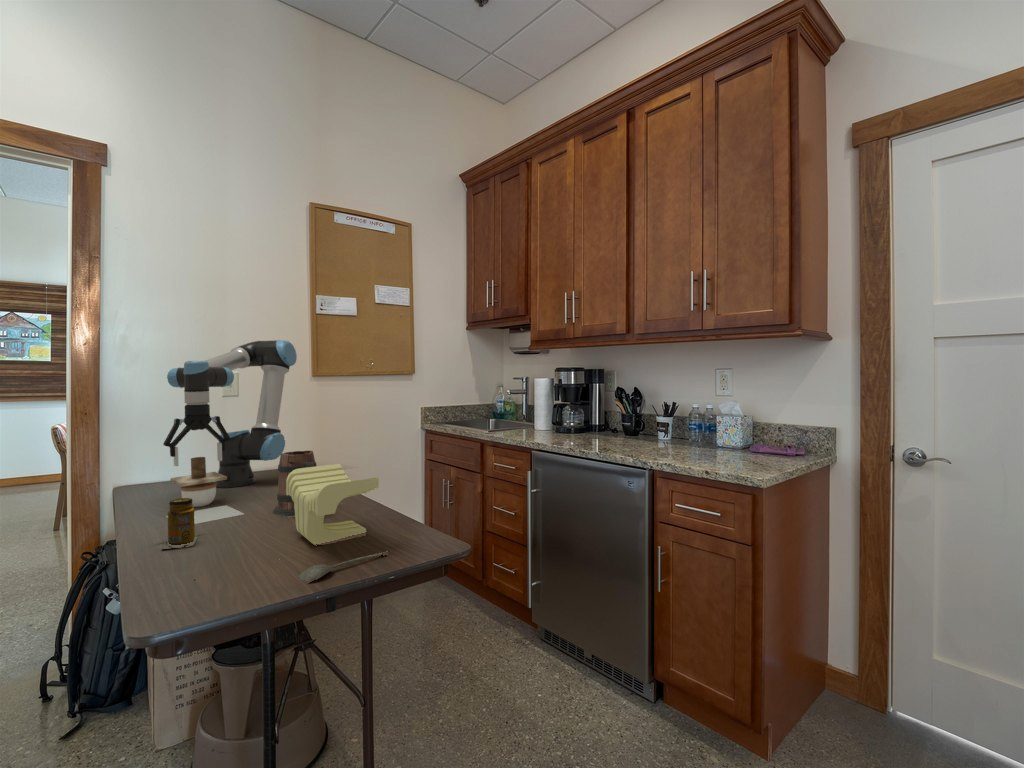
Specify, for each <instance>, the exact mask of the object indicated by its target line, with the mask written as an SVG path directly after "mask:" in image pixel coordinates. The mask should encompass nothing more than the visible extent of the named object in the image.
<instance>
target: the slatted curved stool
mask: <svg viewBox="0 0 1024 768" xmlns="http://www.w3.org/2000/svg"><path fill="white" fill-rule="evenodd" d="M379 487H380V485H379V477H372V478H366V479H365V478H364V479H359V480H358V479H357V480H351V479H350V478H349V476H348V475H347V474H346V472H345V470H344V469H343V466H342V465H341V463H336V464H335V463H334V464H325V465H316V466H315V467H307V468H299V469H295V470H293V471H292V472H291V473H290V474H289V475H288V477H287V480H286V495H290V496H291V498H292V500H293V502H294V509H295V517H294V518H295V527H296V531H297V532H298V533H299V534H300V535H301V536H303V537H304V538H306V540H308V542H310V543H311V544H313V545H314V546H317V545H316V544H321V543H325V542H330V541H334V540H338V539H341V538H345V537H348V536H352V535H357V534H361V533H365V532H367V528H366V527H364V526H362V525H360V524H359V523H358V522H355V521H354V520H345V521H339V522H332V523H331V522H329V523H324V521H325V520H324V519H325V516H326V515H327V516H328V515H333V514H334V515H335V514H336V512H337V508H338V506H339V504H340V503H341V502H342V501H343V500H344V499H346V498H349V497H354V496H359V495H362V494H363V495H364V494H367V493H369V492H371V491H373V490H376V489H379Z"/></svg>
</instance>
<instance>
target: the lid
mask: <svg viewBox="0 0 1024 768" xmlns="http://www.w3.org/2000/svg"><path fill="white" fill-rule="evenodd" d="M206 468H207V463H206V457H205V456H198V457H197V456H196V457H192V458H190V471H191V472H190V475H184V476H175V477H170V482H172V483H173V484H176V485H177V486H179V487H180V488H181V487H183V486H189V485H195V484H202V483H208V482H215V481H221V480H227V477H226V476H224V475H222V474H219V473H218V471H217V472H216V471H210V472H207V469H206Z"/></svg>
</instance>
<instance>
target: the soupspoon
mask: <svg viewBox="0 0 1024 768" xmlns="http://www.w3.org/2000/svg"><path fill="white" fill-rule="evenodd" d="M385 551H386V552H388V550H385ZM385 551H383V552H379V553H377V552H376V553H375V554H370V555H365V556H362V557H357V558H353V559H350V560H346V561H342V562H339V563H336V564H333V565H328V564H315V565H311V566H310V567H308V568H306V569H305V570H304V571H303V572H301V573H300V575H298V577H300V579H301V580H306V581H314V580H316V581H318V579H320V578H322V577H324V576H325V575H327V574H328V573H329V572H331V571H332V570H333V569H335V568H337V567H341V566H342V565H346V564H350V563H353V562H356V561H361V560H364V559H370V558H373V556H375V557H376V556H377V555H380V554H382V553H385ZM377 557H378V556H377ZM314 582H315V581H314Z"/></svg>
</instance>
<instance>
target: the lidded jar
mask: <svg viewBox="0 0 1024 768" xmlns="http://www.w3.org/2000/svg"><path fill="white" fill-rule="evenodd" d="M180 491H181V493H180V494H181V498H191V499H192V500H193V501H192V504H193V506H192V507H193V508H199V507H205V506H209V505H210V504H211V503H212V502H213V501H214V500H215V498H216V493H217V487H216V483H215V481H214V482H208V483H202V484H195V485H189V486H183V487H181V486H180Z"/></svg>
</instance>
